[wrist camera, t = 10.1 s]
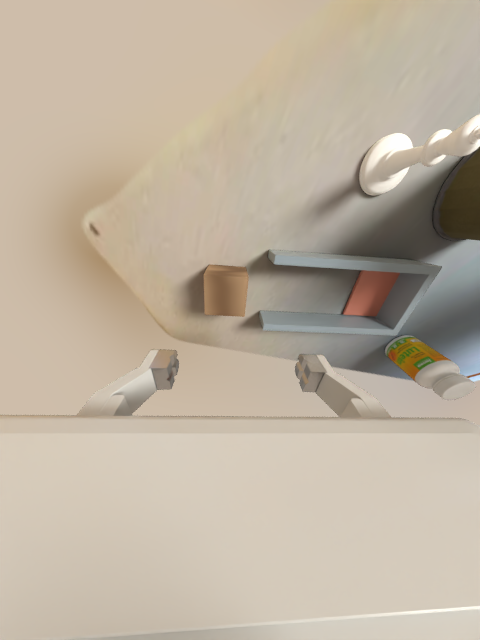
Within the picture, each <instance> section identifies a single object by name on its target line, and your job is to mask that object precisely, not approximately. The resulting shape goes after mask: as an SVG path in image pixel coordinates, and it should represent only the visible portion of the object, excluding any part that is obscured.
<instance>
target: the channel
mask: <svg viewBox="0 0 480 640" xmlns="http://www.w3.org/2000/svg"><path fill="white" fill-rule="evenodd" d="M268 258H269V259H270V260H271V262H272V263H273V264H277V265H292V266H307V267H322V268H337V269H352V270H361V272H360V274H359V276H358V279H357V281H356V283H355V286H354V288H353V290H352V293H351V295H350V297H349V300H348V302H347V304H346V307H345V309H344V311H343V313H342V314H344V315H340V314H319V313H298V312H278V311H260V314H259V317H260V321H261V325H262V329H263V330H271V331H296V332H320V333H344V334H369V335H393V336H397V334H398V333H399V331H400V330H401V328H402V327H403V325H404V324H405V322H406V321H407V319H408V318H409V316H410V315H411V313H412V312H413V310H414V309H415V307H416V306H417V304H418V303H419V301H420V300H421V298H422V297H423V295H424V294H425V292H426V291H427V289H428V288H429V286H430V285H431V283H432V282H433V280H434V279H435V277H436V276H437V274H438V273H439V271H440V270H441V268H442V267H441V266H437V265H432V264H428V263H424V262H419V261H415V260H407V259H393V258H379V257H366V256H352V255H338V254H324V253H310V252H296V251H283V250H269V253H268Z"/></svg>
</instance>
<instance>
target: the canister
mask: <svg viewBox="0 0 480 640" xmlns="http://www.w3.org/2000/svg"><path fill="white" fill-rule="evenodd" d="M433 224H434V228H435V229H436V231H437V233H438V234H439V235H440V236H442V237H443V238H445V239H448V240H466V239H471V240H480V147H479V148H478V149H476V150H475V151H474V152H472V153H471V154H469V155H466V156H464V158H463V159H462V160H461V161H460V162H459V164H458V165H457V166H456V167H455V169H454V170H453V171H452V172H451V173H450V175H449V176H448V178H447V179H446V181H445V182H444V184H443V186H442V188H441V190H440V192H439V194H438V196H437V199H436V203H435V206H434V212H433Z"/></svg>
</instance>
